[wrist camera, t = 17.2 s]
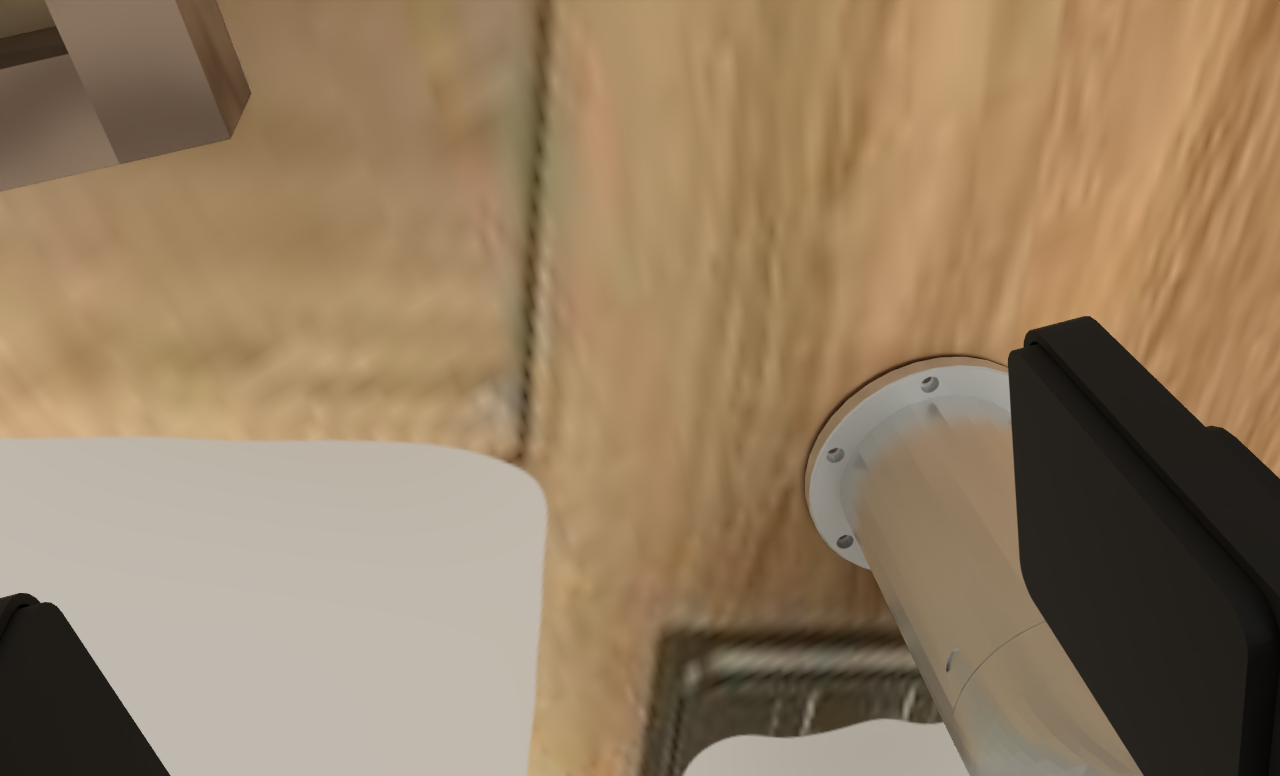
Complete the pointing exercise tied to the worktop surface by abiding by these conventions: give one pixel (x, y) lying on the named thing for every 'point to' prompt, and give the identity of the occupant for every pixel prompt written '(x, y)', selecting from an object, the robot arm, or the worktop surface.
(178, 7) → the holder
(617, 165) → the worktop surface
